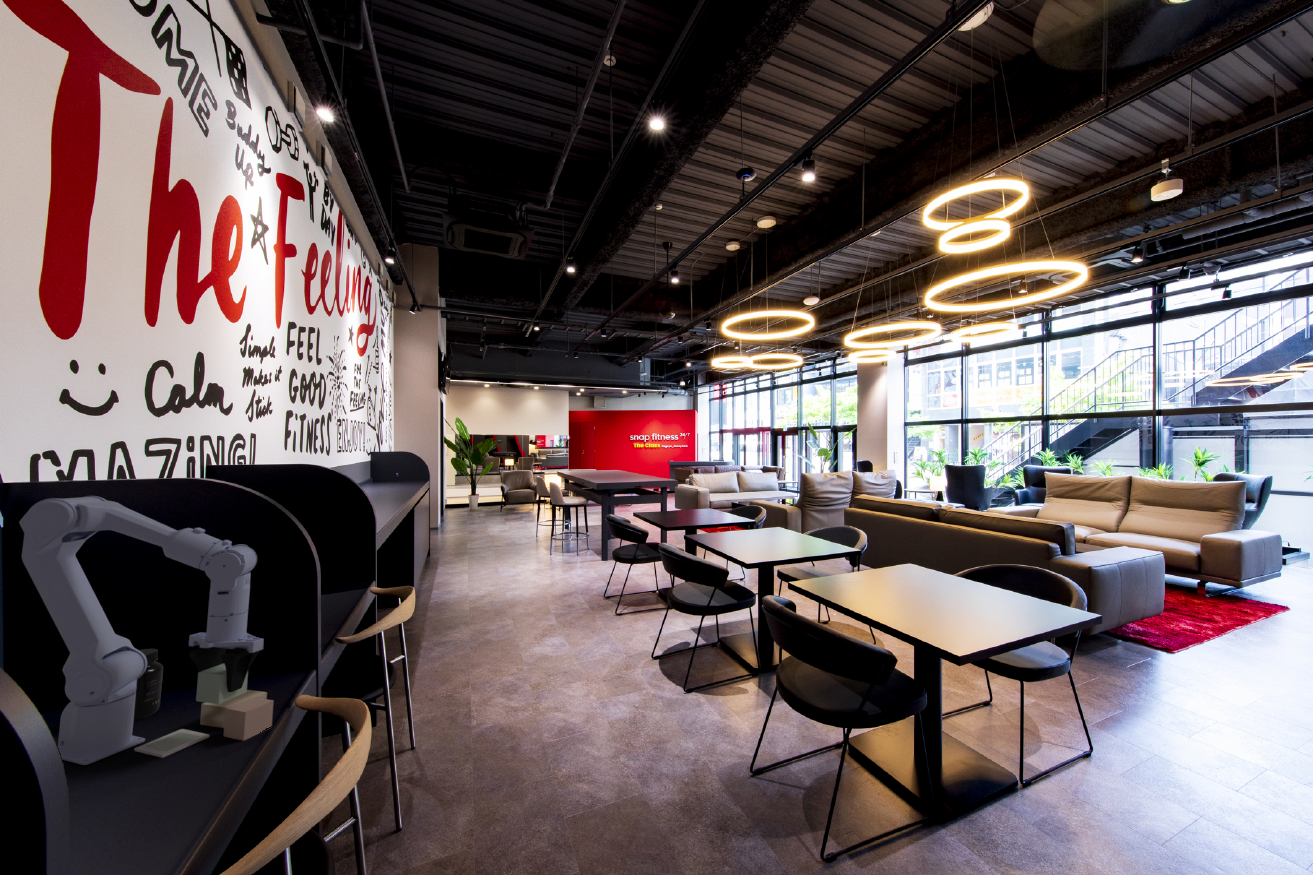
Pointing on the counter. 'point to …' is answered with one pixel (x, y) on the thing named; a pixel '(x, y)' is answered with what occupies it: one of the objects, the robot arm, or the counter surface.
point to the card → (171, 743)
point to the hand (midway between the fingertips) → (222, 688)
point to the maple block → (224, 708)
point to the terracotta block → (248, 718)
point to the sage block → (216, 686)
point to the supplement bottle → (148, 686)
